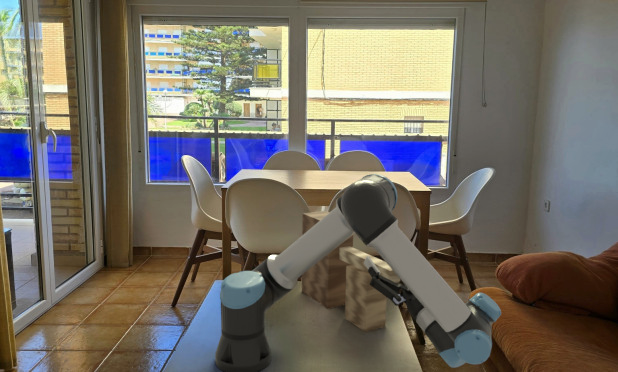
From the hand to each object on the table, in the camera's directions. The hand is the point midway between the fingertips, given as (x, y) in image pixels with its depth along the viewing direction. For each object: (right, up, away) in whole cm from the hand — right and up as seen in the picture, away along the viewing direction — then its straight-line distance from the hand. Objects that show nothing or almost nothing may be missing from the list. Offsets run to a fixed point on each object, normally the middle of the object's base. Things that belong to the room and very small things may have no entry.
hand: (384, 255), depth 143 cm
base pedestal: (-5, -23, +11) cm, 26 cm away
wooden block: (-4, -5, +7) cm, 10 cm away
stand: (-16, -20, +31) cm, 40 cm away
